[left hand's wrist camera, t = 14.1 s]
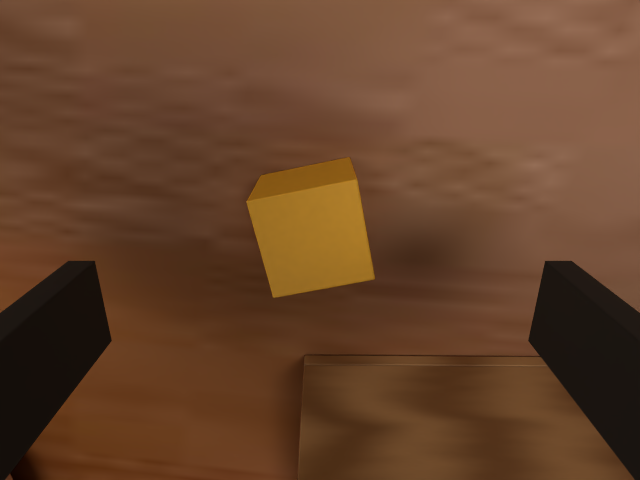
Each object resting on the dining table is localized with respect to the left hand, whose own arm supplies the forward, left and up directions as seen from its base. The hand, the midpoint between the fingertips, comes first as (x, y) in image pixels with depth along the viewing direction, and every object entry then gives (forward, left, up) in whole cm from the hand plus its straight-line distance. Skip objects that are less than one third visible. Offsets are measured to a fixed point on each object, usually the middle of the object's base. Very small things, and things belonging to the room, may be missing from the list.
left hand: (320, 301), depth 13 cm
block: (0, 0, -10) cm, 10 cm away
